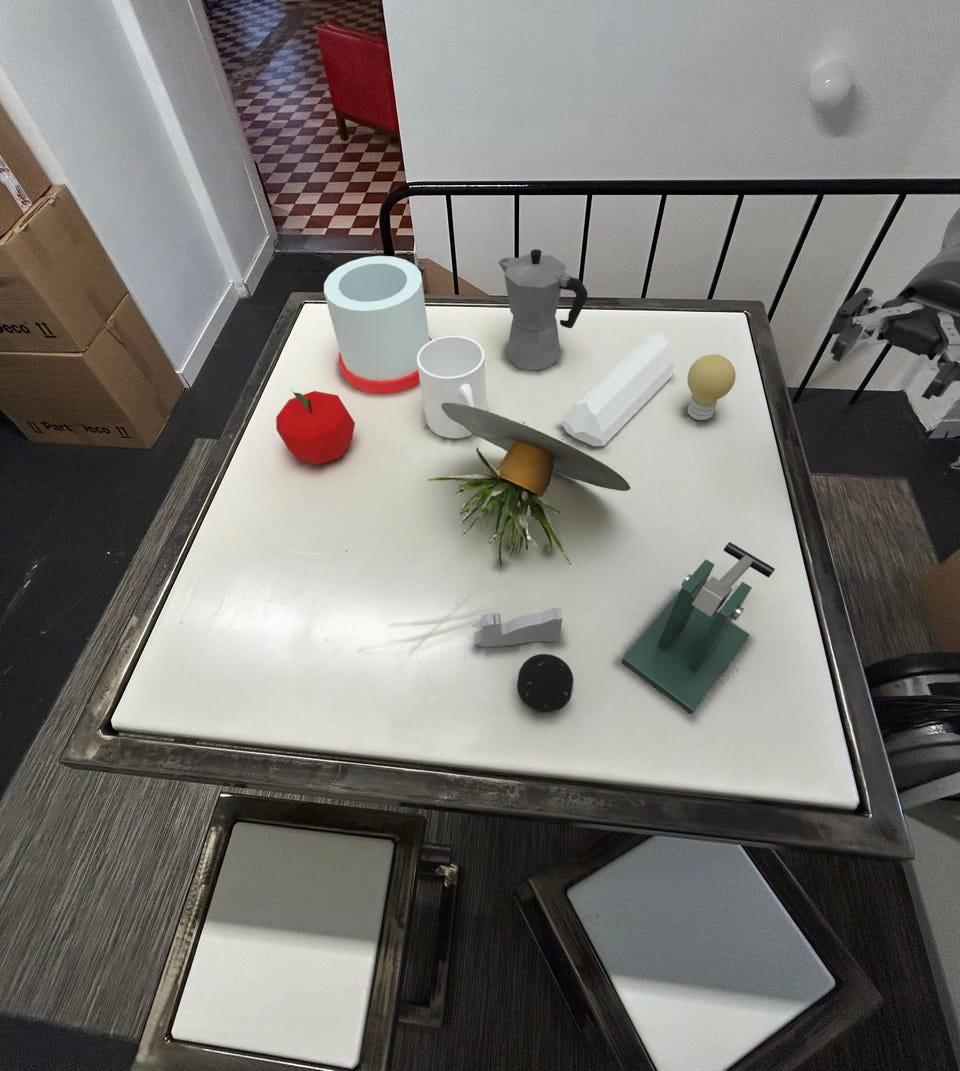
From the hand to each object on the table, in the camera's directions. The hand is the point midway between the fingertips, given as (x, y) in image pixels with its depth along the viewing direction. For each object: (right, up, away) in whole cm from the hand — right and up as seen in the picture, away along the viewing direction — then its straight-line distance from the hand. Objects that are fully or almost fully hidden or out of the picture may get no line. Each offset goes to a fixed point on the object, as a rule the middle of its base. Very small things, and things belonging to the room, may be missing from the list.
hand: (883, 371), depth 58 cm
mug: (-41, +2, +36) cm, 55 cm away
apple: (-62, -3, +34) cm, 71 cm away
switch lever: (-12, -21, +7) cm, 25 cm away
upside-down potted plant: (-33, -13, +25) cm, 43 cm away
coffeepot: (-28, +14, +45) cm, 55 cm away
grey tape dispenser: (-34, -28, +14) cm, 46 cm away
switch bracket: (-15, -29, +12) cm, 34 cm away
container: (-54, +14, +46) cm, 72 cm away
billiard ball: (-31, -33, +10) cm, 47 cm away
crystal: (-17, +5, +37) cm, 41 cm away
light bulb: (-5, +3, +35) cm, 35 cm away
